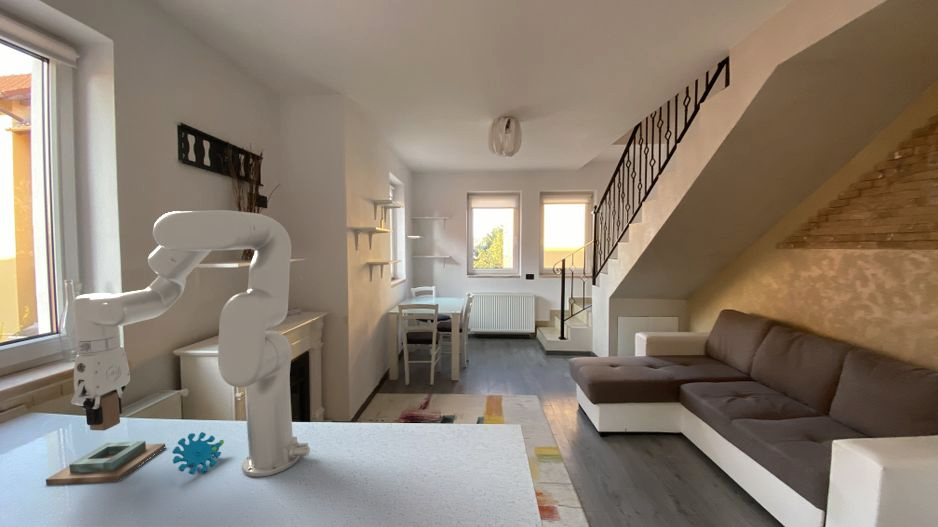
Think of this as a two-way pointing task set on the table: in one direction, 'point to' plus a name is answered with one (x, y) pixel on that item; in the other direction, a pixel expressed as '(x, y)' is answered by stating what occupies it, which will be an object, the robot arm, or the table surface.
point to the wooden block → (108, 411)
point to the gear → (197, 452)
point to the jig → (106, 463)
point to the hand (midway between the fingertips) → (104, 418)
